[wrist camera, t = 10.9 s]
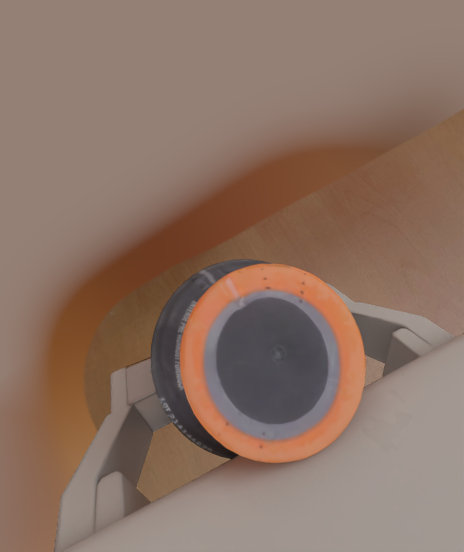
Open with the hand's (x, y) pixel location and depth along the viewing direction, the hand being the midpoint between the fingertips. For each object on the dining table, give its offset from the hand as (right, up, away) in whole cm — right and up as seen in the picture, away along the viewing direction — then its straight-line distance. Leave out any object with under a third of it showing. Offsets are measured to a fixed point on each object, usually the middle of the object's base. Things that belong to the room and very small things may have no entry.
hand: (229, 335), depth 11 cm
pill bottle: (-1, -2, +6) cm, 6 cm away
